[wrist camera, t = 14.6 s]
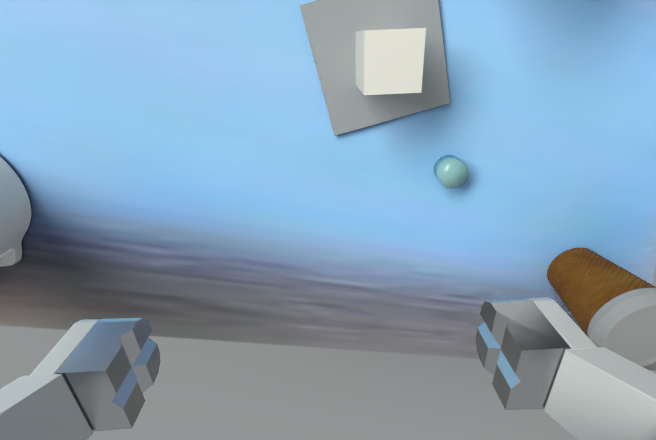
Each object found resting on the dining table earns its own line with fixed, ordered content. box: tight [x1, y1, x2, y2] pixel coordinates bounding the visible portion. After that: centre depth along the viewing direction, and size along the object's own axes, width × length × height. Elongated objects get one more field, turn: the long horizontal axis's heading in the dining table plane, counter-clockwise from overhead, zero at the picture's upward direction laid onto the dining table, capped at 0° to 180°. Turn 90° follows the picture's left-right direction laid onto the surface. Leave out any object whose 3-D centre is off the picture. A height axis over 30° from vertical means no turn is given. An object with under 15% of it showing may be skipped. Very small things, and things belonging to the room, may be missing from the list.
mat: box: [300, 0, 450, 135], centre depth 34 cm, size 12×12×1 cm
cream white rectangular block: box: [356, 28, 426, 95], centre depth 31 cm, size 5×5×7 cm
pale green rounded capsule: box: [434, 155, 468, 188], centre depth 39 cm, size 3×3×2 cm
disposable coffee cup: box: [547, 248, 656, 367], centre depth 41 cm, size 10×10×12 cm
